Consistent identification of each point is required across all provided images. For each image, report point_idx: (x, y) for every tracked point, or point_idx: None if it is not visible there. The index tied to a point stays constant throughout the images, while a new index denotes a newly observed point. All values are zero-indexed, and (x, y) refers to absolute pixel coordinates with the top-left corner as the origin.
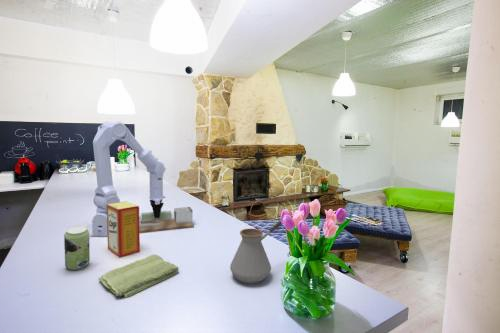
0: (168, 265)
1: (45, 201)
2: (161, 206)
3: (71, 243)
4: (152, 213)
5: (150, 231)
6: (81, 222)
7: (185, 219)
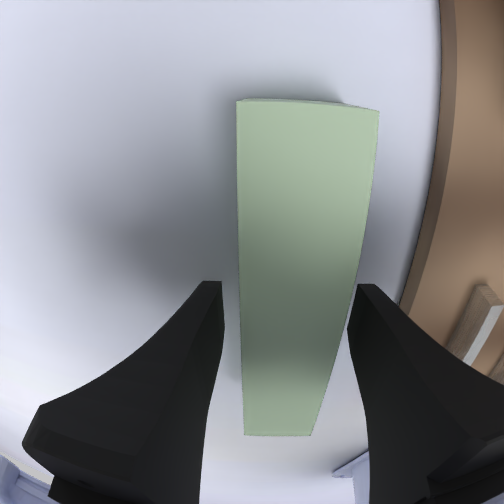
0: None
1: (19, 460)
2: (496, 393)
3: None
4: (306, 377)
5: None
6: (213, 492)
7: None
